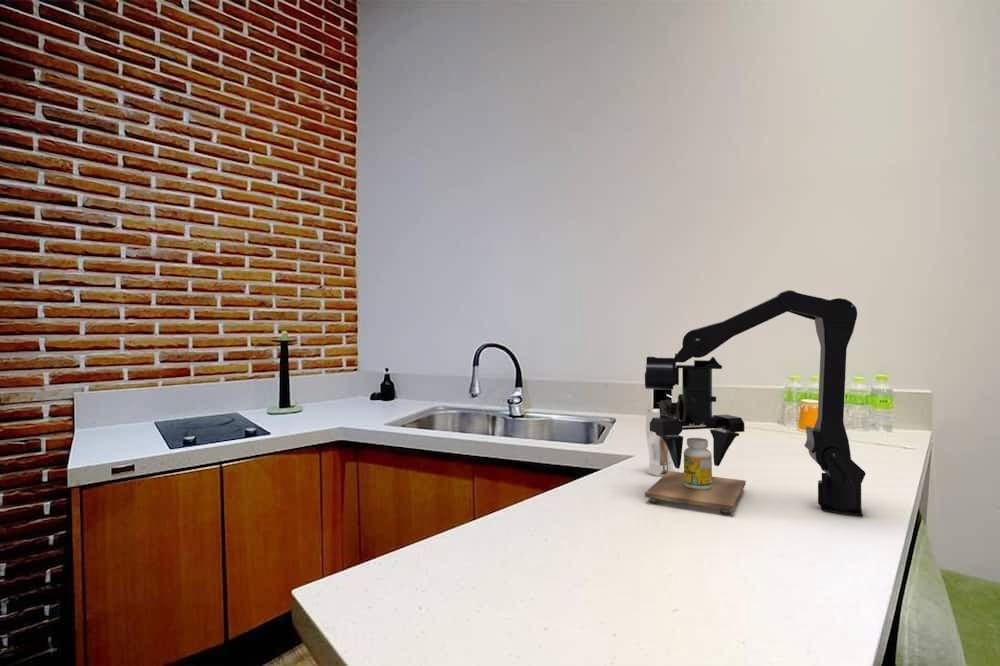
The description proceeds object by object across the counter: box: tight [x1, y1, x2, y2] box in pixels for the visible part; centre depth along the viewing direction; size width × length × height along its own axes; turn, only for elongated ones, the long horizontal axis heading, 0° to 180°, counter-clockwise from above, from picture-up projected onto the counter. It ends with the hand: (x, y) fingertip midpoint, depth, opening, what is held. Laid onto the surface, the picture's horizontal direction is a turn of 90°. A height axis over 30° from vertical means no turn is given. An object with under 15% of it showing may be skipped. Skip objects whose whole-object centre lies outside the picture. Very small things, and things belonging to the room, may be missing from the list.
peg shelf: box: [644, 471, 747, 516], centre depth 110 cm, size 16×20×2 cm
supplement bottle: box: [683, 437, 713, 490], centre depth 110 cm, size 5×5×10 cm
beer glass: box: [645, 408, 675, 477], centre depth 129 cm, size 7×7×15 cm
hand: (697, 466), depth 110 cm, fingers open, 9 cm apart
